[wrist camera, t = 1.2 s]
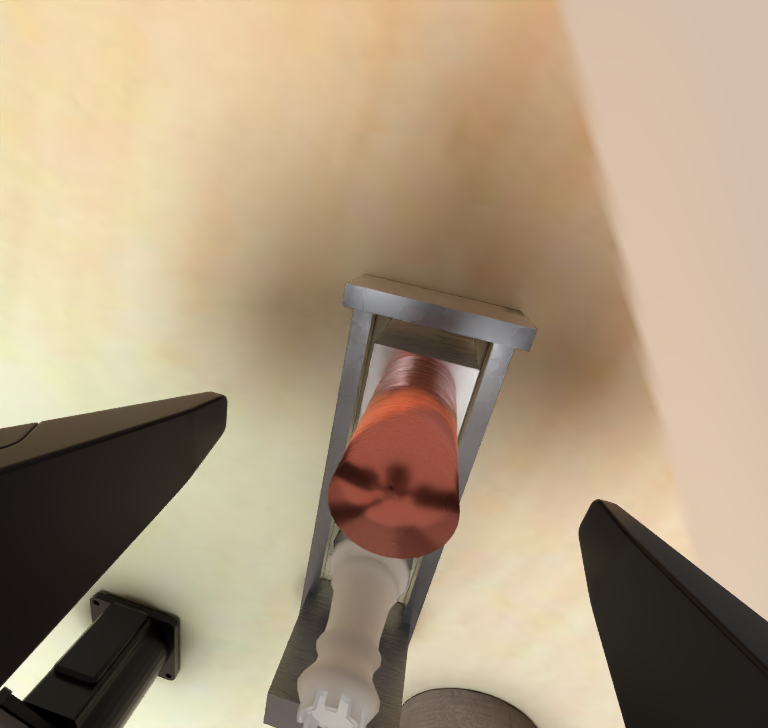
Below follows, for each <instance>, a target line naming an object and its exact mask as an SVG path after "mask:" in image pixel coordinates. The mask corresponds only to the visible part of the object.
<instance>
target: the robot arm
mask: <svg viewBox="0 0 768 728" xmlns="http://www.w3.org/2000/svg"><path fill="white" fill-rule="evenodd" d="M226 419H227V398H226V397H225V396H224V395H222V394H218V393H215V392H204V393H198V394H193V395H187V396H181V397H176V398H170V399H165V400H159V401H153V402H148V403H142V404H137V405H131V406H125V407H120V408H114V409H109V410H103V411H97V412H92V413H86V414H81V415H75V416H69V417H64V418H58V419H53V420H47V421H42V422H40V423H39V424H38V423H30V424H24V425H19V426H13V427H7V428H1V429H0V687H1V686H2V685H3V684H4V683H5V682H6V681H7V680H8V679H9V677H10V676H11V675H12V674H13V673H14V672H15V671H16V670H17V669H18V668H19V666H20V665H21V664H22V663H23V662H24V661H25V660H26V659H27V658H28V657H29V655H30V654H31V653H32V652H33V651H34V650H35V649H36V648H37V647H38V646H39V644H40V643H41V642H42V641H43V640H44V639H45V638H46V637H47V636H48V635H49V633H50V632H51V631H52V630H53V629H54V628H55V627H56V626H57V625H58V624H59V622H60V621H61V620H62V619H63V618H64V617H65V616H66V615H67V614H68V613H69V611H70V610H71V609H72V608H73V607H74V606H75V605H76V604H77V603H78V602H79V600H80V599H81V598H82V597H83V596H84V595H85V594H86V593H87V592H88V591H89V589H90V588H91V587H92V586H93V585H94V584H95V583H96V582H97V581H98V580H99V578H100V577H101V576H102V575H103V574H104V573H105V572H106V571H107V570H108V569H109V567H110V566H111V565H112V564H113V563H114V562H115V561H116V560H117V559H118V558H119V556H120V555H121V554H122V553H123V552H124V551H125V550H126V549H127V548H128V547H129V545H130V544H131V543H132V542H133V541H134V540H135V539H136V538H137V537H138V536H139V534H140V533H141V532H142V531H143V530H144V529H145V528H146V527H147V526H148V525H149V523H150V522H151V521H152V520H153V519H154V518H155V517H156V516H157V515H158V514H159V512H160V511H161V510H162V509H163V508H164V507H165V506H166V505H167V504H168V503H169V501H170V500H171V499H172V498H173V497H174V496H175V495H176V494H177V493H178V492H179V490H180V489H181V488H182V487H183V486H184V485H185V484H186V482H187V481H188V480H189V479H190V477H191V476H192V475H193V474H194V472H195V471H196V470H197V468H198V467H199V465H200V464H201V463H202V461H203V460H204V459H205V457H206V456H207V455H208V453H209V452H210V451H211V449H212V448H213V446H214V445H215V444H216V442H217V441H218V440H219V438H220V437H221V436H222V434H223V432H224V430H225V427H226ZM579 541H580V547H581V553H582V558H583V564H584V570H585V575H586V581H587V587H588V592H589V597H590V602H591V606H592V610H593V614H594V618H595V621H596V625H597V628H598V632H599V635H600V639H601V642H602V646H603V649H604V653H605V656H606V660H607V663H608V667H609V671H610V674H611V678H612V681H613V685H614V688H615V692H616V695H617V699H618V702H619V706H620V709H621V713H622V716H623V720H624V724H625V727H626V728H768V622H767V621H766V620H765V619H764V618H762V617H761V616H760V615H758V614H757V613H756V612H754V611H753V610H752V609H751V608H749V607H748V606H747V605H746V604H744V603H743V602H741V601H740V600H739V599H738V598H737V597H735V596H734V595H733V594H731V593H730V592H729V591H728V590H726V589H725V588H724V587H722V586H721V585H720V584H718V583H717V582H716V581H715V580H713V579H712V578H711V577H709V576H708V575H707V574H706V573H704V572H703V571H702V570H700V569H699V568H698V567H697V566H695V565H694V564H693V563H691V562H690V561H689V560H688V559H686V558H685V557H684V556H682V555H681V554H680V553H679V552H677V551H676V550H675V549H673V548H672V547H671V546H670V545H668V544H667V543H666V542H664V541H663V540H662V539H661V538H659V537H658V536H657V535H655V534H654V533H653V532H652V531H650V530H649V529H648V528H646V527H645V526H644V525H643V524H641V523H640V522H639V521H637V520H636V519H635V518H634V517H632V516H631V515H630V514H628V513H627V512H626V511H625V510H623V509H622V508H621V507H619V506H618V505H617V504H614V503H611V502H608V501H604V500H600V499H597V500H594V501H593V502H592V504H591V505H590V507H589V509H588V511H587V513H586V515H585V517H584V519H583V521H582V523H581V525H580V527H579ZM90 606H91V613H92V621H93V623H92V624H91V626H90V627H89V628H88V629H87V630H86V631H85V632H84V633H83V634H82V635H81V636H80V637H79V639H78V640H77V641H76V642H75V643H74V644H73V645H72V646H71V647H70V648H69V649H68V650H67V652H66V653H65V654H64V655H63V656H62V657H61V658H60V659H59V660H58V661H57V662H56V664H55V665H54V667H53V668H52V669H51V670H50V671H49V672H48V674H47V675H46V676H45V677H44V678H43V679H42V680H41V681H40V682H39V683H38V684H37V685H36V687H35V688H34V689H33V690H32V691H31V692H30V693H29V694H28V695H27V696H26V697H25V699H24V700H23V701H21V700H20V699H18V698H17V697H15V696H14V695H12V694H11V693H12V691H11V690H10V689H8V688H7V687H4V688H3V689H2V690H1V691H0V728H123V727H124V725H125V724H126V722H127V721H128V719H129V718H130V716H131V715H132V713H133V712H134V710H135V709H136V707H137V706H138V704H139V703H140V701H141V700H142V698H143V697H144V695H145V694H146V692H147V691H148V689H149V688H150V686H151V685H152V683H153V682H154V680H155V679H156V677H157V676H159V677H162V678H165V679H167V680H174V679H175V678H176V676H177V674H178V672H179V624H178V621H177V620H176V619H175V618H173V617H170V616H167V615H164V614H161V613H159V612H156V611H153V610H150V609H147V608H144V607H141V606H138V605H135V604H132V603H129V602H126V601H123V600H120V599H117V598H115V597H112V596H109V595H106V594H103V593H99V592H97V593H96V594H95V595H94V596H93V597H92V598H91V599H90Z"/></svg>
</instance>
